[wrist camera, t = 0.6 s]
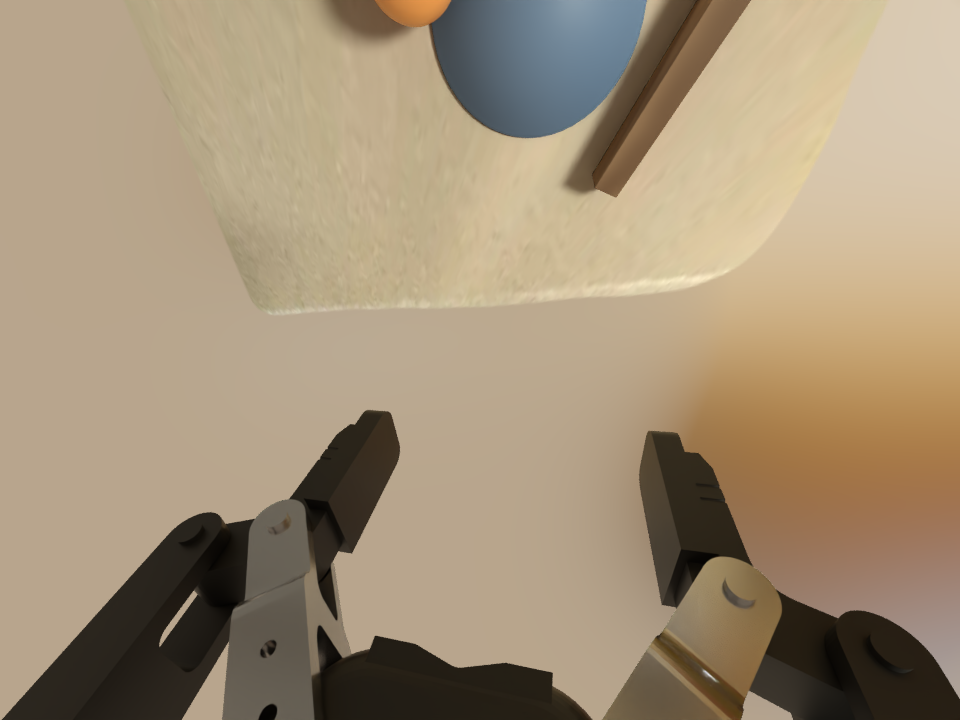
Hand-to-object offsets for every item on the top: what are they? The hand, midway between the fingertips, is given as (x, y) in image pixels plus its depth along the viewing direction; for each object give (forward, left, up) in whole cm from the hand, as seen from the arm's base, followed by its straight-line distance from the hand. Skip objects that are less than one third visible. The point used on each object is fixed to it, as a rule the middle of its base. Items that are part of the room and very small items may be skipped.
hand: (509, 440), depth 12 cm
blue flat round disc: (-2, +6, -28) cm, 29 cm away
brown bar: (+8, +6, -28) cm, 29 cm away
